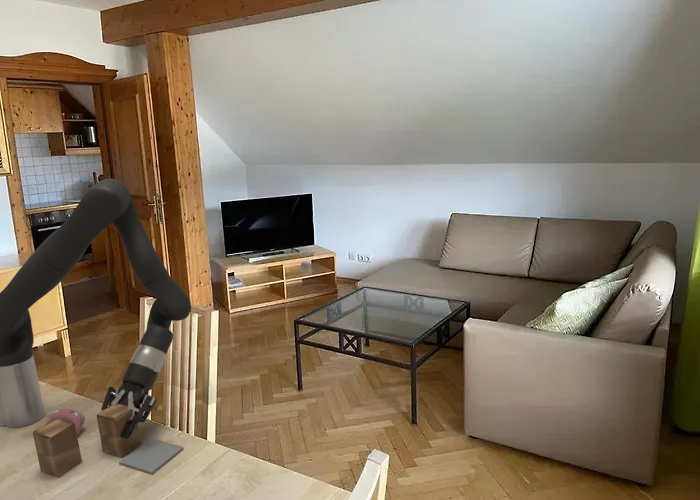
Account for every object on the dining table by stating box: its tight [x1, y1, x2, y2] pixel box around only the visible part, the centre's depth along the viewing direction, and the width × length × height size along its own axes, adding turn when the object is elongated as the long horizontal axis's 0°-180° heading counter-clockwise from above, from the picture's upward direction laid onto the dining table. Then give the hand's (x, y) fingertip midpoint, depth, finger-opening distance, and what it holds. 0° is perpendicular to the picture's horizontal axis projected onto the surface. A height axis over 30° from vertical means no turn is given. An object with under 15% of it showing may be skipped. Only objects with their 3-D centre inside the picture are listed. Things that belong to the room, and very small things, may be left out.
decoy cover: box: [32, 418, 83, 478], centre depth 124 cm, size 6×6×10 cm
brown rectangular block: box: [96, 403, 142, 459], centre depth 130 cm, size 6×6×10 cm
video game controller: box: [44, 408, 86, 437], centre depth 138 cm, size 10×5×7 cm, turn 75°
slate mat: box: [118, 437, 184, 476], centre depth 127 cm, size 10×10×1 cm
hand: (113, 434), depth 129 cm, fingers closed on brown rectangular block, 6 cm apart
